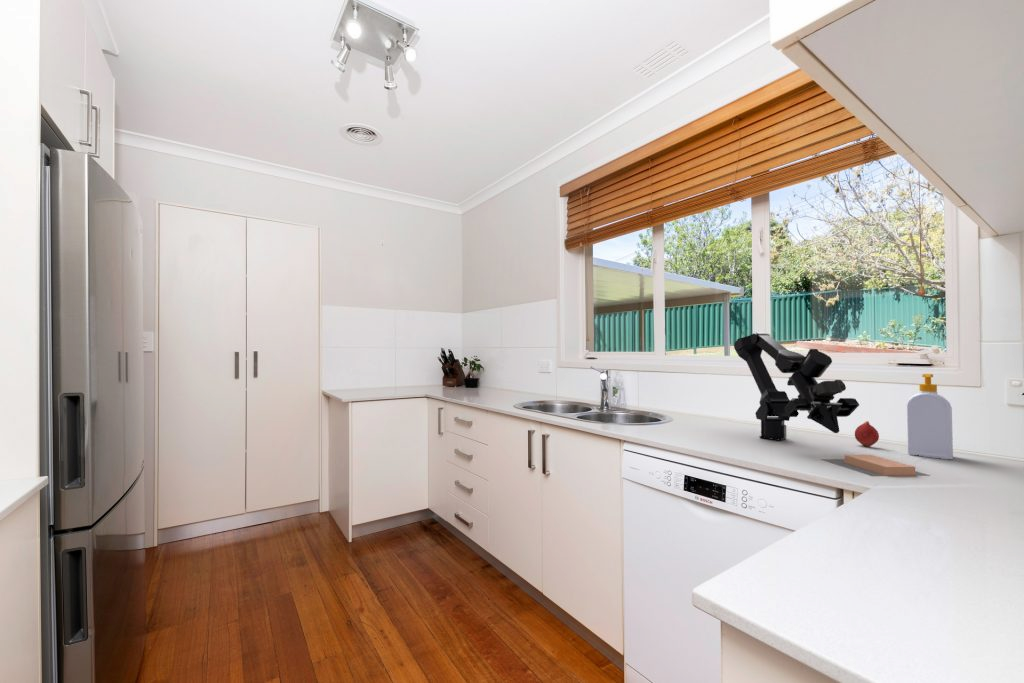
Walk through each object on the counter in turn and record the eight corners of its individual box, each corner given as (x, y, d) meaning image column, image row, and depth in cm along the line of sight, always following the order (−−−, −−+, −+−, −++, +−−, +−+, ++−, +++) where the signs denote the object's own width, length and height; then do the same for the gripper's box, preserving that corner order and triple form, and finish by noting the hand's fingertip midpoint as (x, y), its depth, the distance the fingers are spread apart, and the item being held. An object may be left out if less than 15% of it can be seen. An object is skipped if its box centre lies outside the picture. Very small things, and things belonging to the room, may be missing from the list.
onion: (851, 446, 135) (850, 420, 135) (860, 444, 138) (860, 419, 138) (873, 450, 130) (873, 423, 130) (883, 448, 133) (882, 421, 133)
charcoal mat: (820, 460, 117) (820, 459, 117) (870, 460, 118) (870, 458, 118) (872, 477, 101) (872, 475, 101) (930, 477, 102) (930, 475, 102)
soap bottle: (908, 455, 123) (906, 373, 124) (908, 451, 129) (906, 373, 129) (953, 460, 117) (951, 374, 118) (951, 456, 123) (949, 374, 123)
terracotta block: (844, 454, 113) (886, 466, 101) (870, 454, 114) (915, 466, 102) (844, 462, 113) (886, 475, 101) (870, 462, 114) (915, 475, 102)
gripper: (790, 370, 125) (819, 415, 114) (854, 370, 126) (888, 414, 115) (773, 394, 133) (798, 438, 122) (832, 394, 134) (863, 438, 123)
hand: (837, 432), depth 120 cm, fingers closed
